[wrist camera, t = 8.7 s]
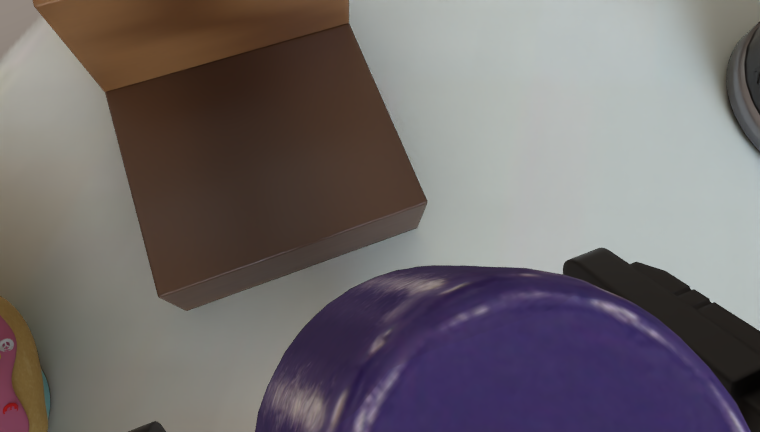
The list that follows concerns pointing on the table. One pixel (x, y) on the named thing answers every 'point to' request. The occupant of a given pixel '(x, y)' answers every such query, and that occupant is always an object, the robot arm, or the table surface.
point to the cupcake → (20, 376)
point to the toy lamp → (491, 361)
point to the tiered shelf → (243, 135)
